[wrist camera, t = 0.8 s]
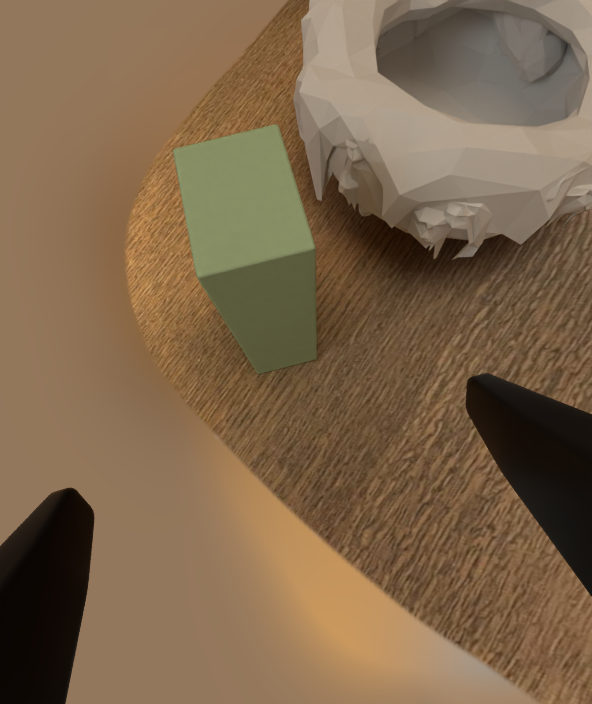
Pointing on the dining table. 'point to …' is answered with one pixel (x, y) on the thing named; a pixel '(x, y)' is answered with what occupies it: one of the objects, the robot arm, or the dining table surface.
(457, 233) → the bowl
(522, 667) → the dining table surface
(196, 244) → the tall sage green pillar
